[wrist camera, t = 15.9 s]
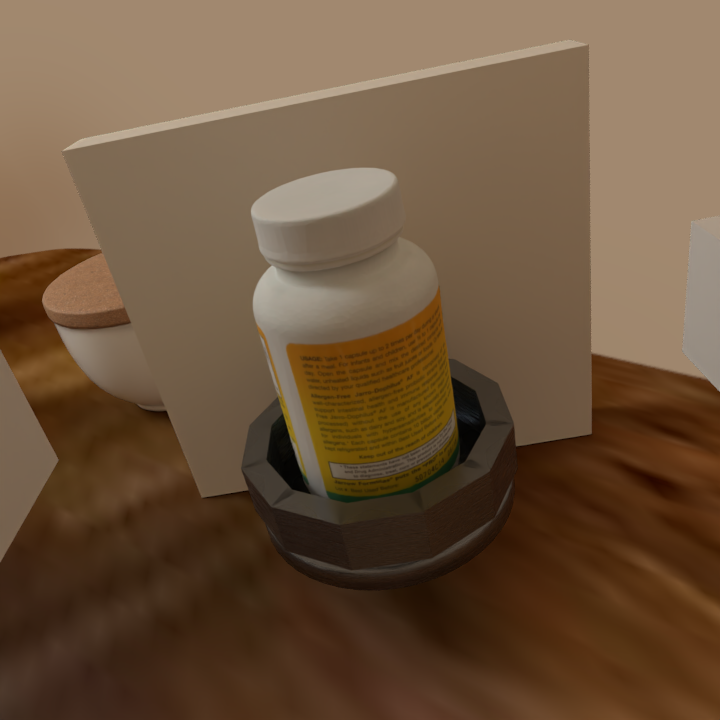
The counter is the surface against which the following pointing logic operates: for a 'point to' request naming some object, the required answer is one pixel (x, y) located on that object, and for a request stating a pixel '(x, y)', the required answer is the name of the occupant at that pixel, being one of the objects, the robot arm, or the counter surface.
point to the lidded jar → (101, 332)
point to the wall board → (422, 227)
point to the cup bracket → (390, 501)
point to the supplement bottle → (354, 336)
